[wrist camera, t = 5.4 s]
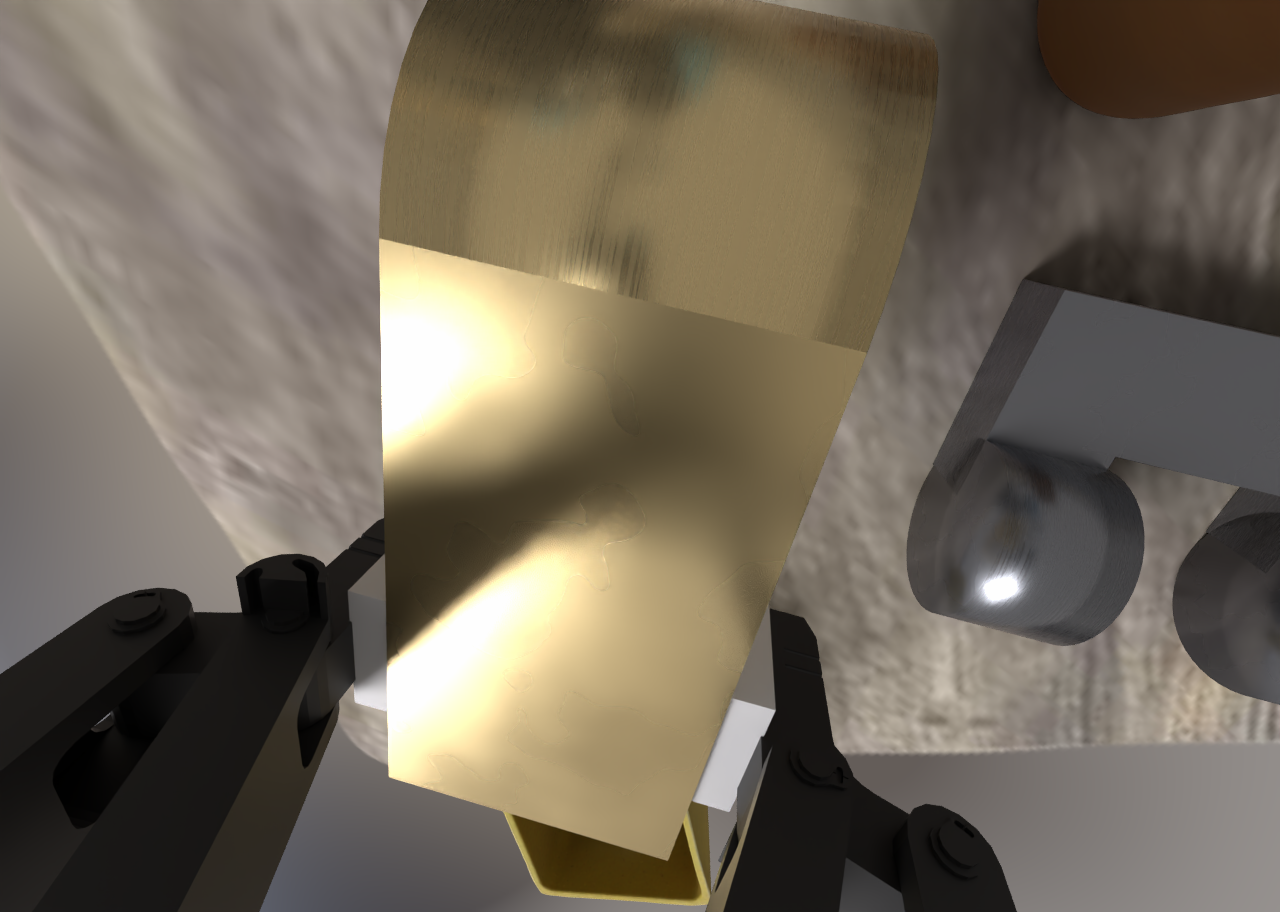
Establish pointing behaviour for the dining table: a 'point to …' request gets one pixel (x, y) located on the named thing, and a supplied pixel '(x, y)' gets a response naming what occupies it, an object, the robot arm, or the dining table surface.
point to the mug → (1160, 53)
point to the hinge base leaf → (1108, 480)
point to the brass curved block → (617, 372)
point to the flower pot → (617, 863)
